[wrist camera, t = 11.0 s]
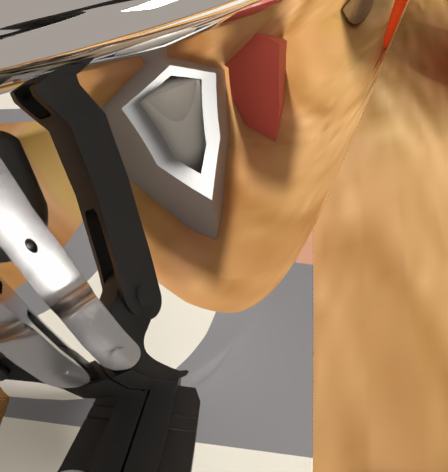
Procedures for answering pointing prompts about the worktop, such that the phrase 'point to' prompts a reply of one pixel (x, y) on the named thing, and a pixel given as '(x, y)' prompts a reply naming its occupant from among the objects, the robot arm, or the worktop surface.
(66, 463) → the robot arm
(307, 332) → the game board
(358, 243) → the worktop surface
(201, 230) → the beer glass
